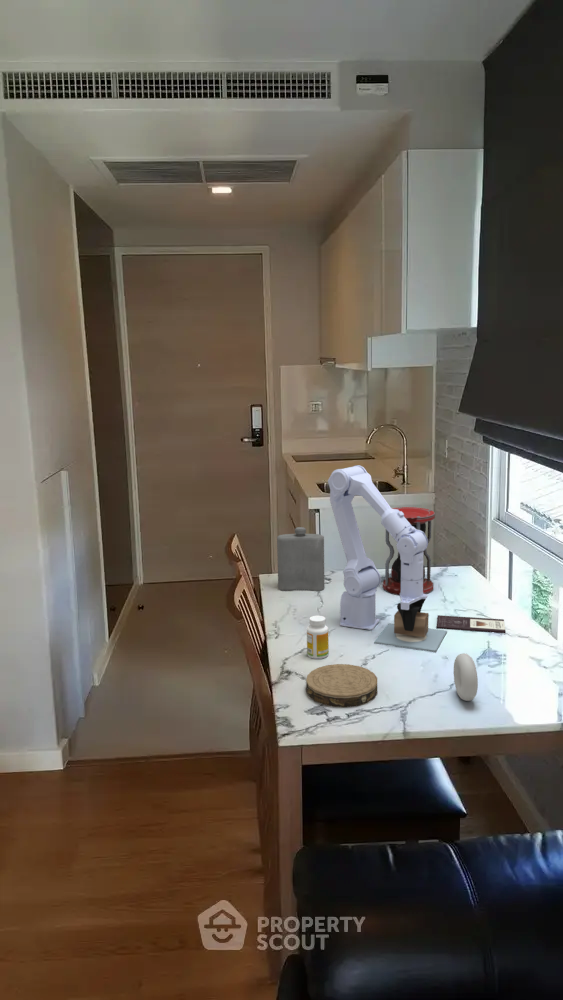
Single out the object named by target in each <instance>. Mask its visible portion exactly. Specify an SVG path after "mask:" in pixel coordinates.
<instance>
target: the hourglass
mask: <svg viewBox="0 0 563 1000" xmlns="http://www.w3.org/2000/svg"><path fill="white" fill-rule="evenodd" d="M391 508H392V509H398V510H399V511H402V512H403V513H404V517H405V518H406V519H407V521H408V522H409V523H410V524H411V525H412V526H414V528H415V529H417V530H421V531H423V532H424V533H425V534H426V532H427V536H426V537H427V539H428V544H429V543H430V542H431V539H432V521H433V520H434V519H435V518H436V517H435V516H436V513H435V511H434V510H432V509H429V508H424V507H416V506H415V507H414V506H399V507H391ZM426 523H427V524H426ZM426 530H427V531H426ZM385 543H386V545H387V546H388V547H389V556H388V558H387V559H386V560H385V564H384V565H385V573H384V574H385V578H384V580H383V581H382V588H383V590H384V591H385V590H386V592H387V593H389V592H390V593H389V594H394V595H397V596H400V592H401V560H400V553H399V552H398V551H397V552H398V553H397V558H396V559H395V560H394V561H393V563H392V565H391V570H390V562H391V560H392V559H393V558H394V554H395V549H394V545H392V544H391V541H390V533H389V532H388V531H387V530H386V529H385ZM423 552H424V556H425V558H426V561H427V562H426V568H425V565H424V564H423V594H427V595H428V594H430V593H431V592H432V591H434V582H433V581H432V580H431V564H432V563H431V561H432V559H431V557H430V555H429V553H428V551H427V548H426V549H425V550H424V551H423Z"/></svg>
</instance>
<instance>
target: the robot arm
mask: <svg viewBox="0 0 563 1000" xmlns="http://www.w3.org/2000/svg"><path fill="white" fill-rule="evenodd" d="M372 480H373V479H372V476H371V474H370V473H368V472H367V470H366V468H365V467H364V466H362V465H353V466H349V467H345V468H337V469H334V470H333V471H331V474H330V476H329V478H328V479H327V484H328V486H329V490H330V491H329V493H330V494H329V501H330V506H331V509H332V514H333V516H334V517H333V518H334V519H335V523H336V527H337V530H338V533H339V537H340V541H341V543H342V548H343V551H344V555H345V558H346V564H345V565H344V566H345V567H344V568H343V571H342V574H343V586H344V587H343V588H344V589H345V590H344V591H343V592H342V594H341V596H340V604H339V605H340V606H339V611H340V612H339V614H340V616H339V617H340V621H339V622H340V623H339V626H340V627H341V626H342V627H346V628H348V627H349V628H355V629H360V630H361V629H362V630H369V631H373V630H374V628H376V626H377V625H378V624H379V622H381V618H377V617H376V609H377V608H376V607H377V606H376V601H377V600H376V596H377V595H376V593H377V589H378V587H379V586H380V585H381V583H382V582H381V581H382V576H381V573H380V571H379V570H378V569H377V568H376V565H375V562H374V560H372V559H371V558H369V557H368V556H367V553H366V551H365V547H364V543H363V539H362V536H361V533H360V529H359V525H358V522H357V518H356V515H355V511H354V508H353V504H352V501H353V499H355V497H356V496H359V497H362V498H363V499H364V500H365V501H366V502H367V503H368V504H369V505H370V507H372V508H373V510H374V511H375V512H376V513H377V514H378V515H379V516H380V517H381V518H380V519H381V520H380V522H381V525H382V526H383V527H384V529H385V531H386V530H387V531H388V532H389V536H390V535H391V537H392V538H393V540H395V542H396V543H395V544H396V545H395V546H396V550H397V552H399V553H400V560H401V592H400V595H399V598H400V602H398V603H397V605H396V609H397V611H398V610H399V612H400V614H401V617H402V621H403V625H404V629H405V630H406V631H413V629H414V625H415V618H416V615H417V612H422V609H423V605H424V603H425V602H426V600H427V599H428V593H427V594H423V565H424V556H425V555H424V552H423V551H424V550H425V549H426V550H427V548H428V545H429V543H428V539H427V537H428V536H427V535H426V532H425V533H424V532H423V531H421V530H417V529H415V528H414V526H412V525H411V524H410V523H409V522H408V521H407V519H406V518H405V517H404V513H403V512H402V511H399V510H398V509H392V508H393V507H391V506H390V504H389V503H388V502H387V500H386V499H385V497H384V496H383V495H382V493H381V492H380V491H379V489H378V488H377V486H376V485H375V484H374V482H373V481H372Z"/></svg>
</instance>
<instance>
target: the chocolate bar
mask: <svg viewBox="0 0 563 1000" xmlns="http://www.w3.org/2000/svg"><path fill="white" fill-rule="evenodd" d="M435 629H438V630H451V631H465V632H479V633H492V632H494V634H506V632H507V631H506V625H505V619H503V618H501V619H500V618H487V617H485V618H484V617H471V616H459V615H458V616H455V615H441V614H439V615H438V614H437V620H436V627H435Z"/></svg>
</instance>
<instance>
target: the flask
mask: <svg viewBox="0 0 563 1000" xmlns="http://www.w3.org/2000/svg"><path fill="white" fill-rule="evenodd" d="M276 544H277V545H276V548H277V549H276V550H277V552H276V554H277V583H278V584H277V587H278V590H279V591H282V592H288V591H290V592H291V591H292V592H293V591H310V592H311V591H314V592H321V591H323V590H324V589H325V588H326V587H325V536H324V535H323V534H319V533H318V534H317V533H307V528H305V527H303V526H302V527H301V526H300V527H299V526H298V527H296V528H294V533H285V534H284V533H283V534H279V535H277V536H276ZM320 590H321V591H320Z"/></svg>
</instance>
